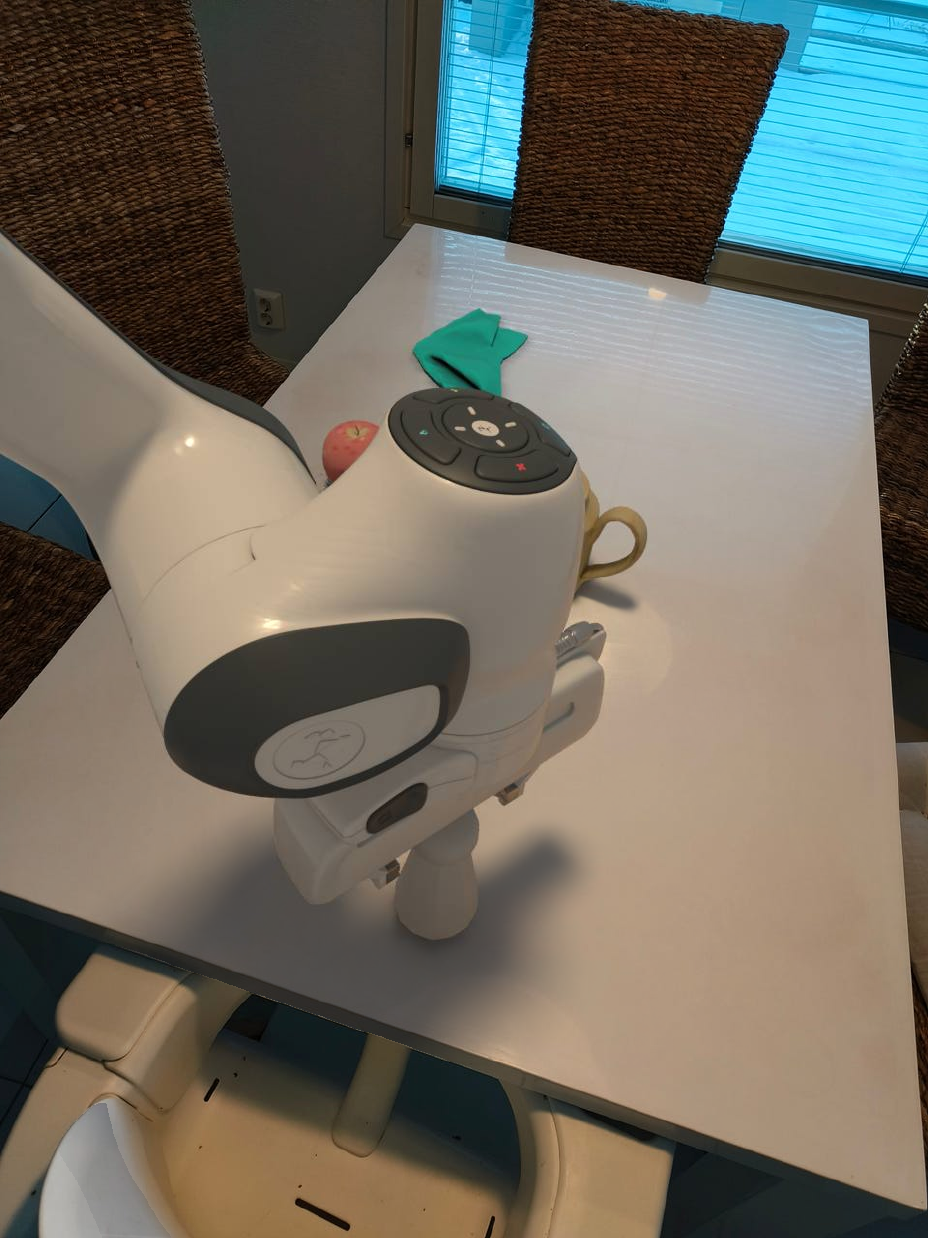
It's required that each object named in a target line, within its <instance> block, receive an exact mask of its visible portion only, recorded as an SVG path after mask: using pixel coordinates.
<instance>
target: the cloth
mask: <svg viewBox="0 0 928 1238" xmlns="http://www.w3.org/2000/svg"><path fill="white" fill-rule="evenodd" d="M500 320H501V315H500V314H496V313H486V312H485V311H484V310H482V308H480V307H478V308H476V309H474V310H472V311H470V312H467V313H466V314H465V315H463V316H461V317H458V318H456V319H453V320H452V321H450V322H449V323H448V324H446V325H445V326H442V327H439V328H438V329H435V330H434V331H433V332H432V333H431V334H430V335H428V336H426V337H424V338H422V339H421V340H419V341H417V342H416V344H415V345H414V346H413V348H412V352H413V355H415V357H416V358H417V360H418V362H419V363H420V366H421V367H422V368H423V369H424V370H425V371H426V373H428V374H429V376H431V378H433V380H434V381H435V382H436V383H437V384H438V385H440V386H441V388H446V387H459V388H470V389H477V390H482V391H486V392H490V393H492V394H494V395H497V396H500V397H502V371H501V370H502V365H501V363H502V362H503V360H504V359H506V358H508V357H510V356H511V355H513V354H514V353H515V352H516V351H517V350H518V349H519V348H520V347H521V346H522V345H523V344H524V342H525V341H526V340H527V338H528V337H529V335H528V334H526V333H524V332H520V331H517V330H513V329H510V328H504V327H499V324H500Z"/></svg>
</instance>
